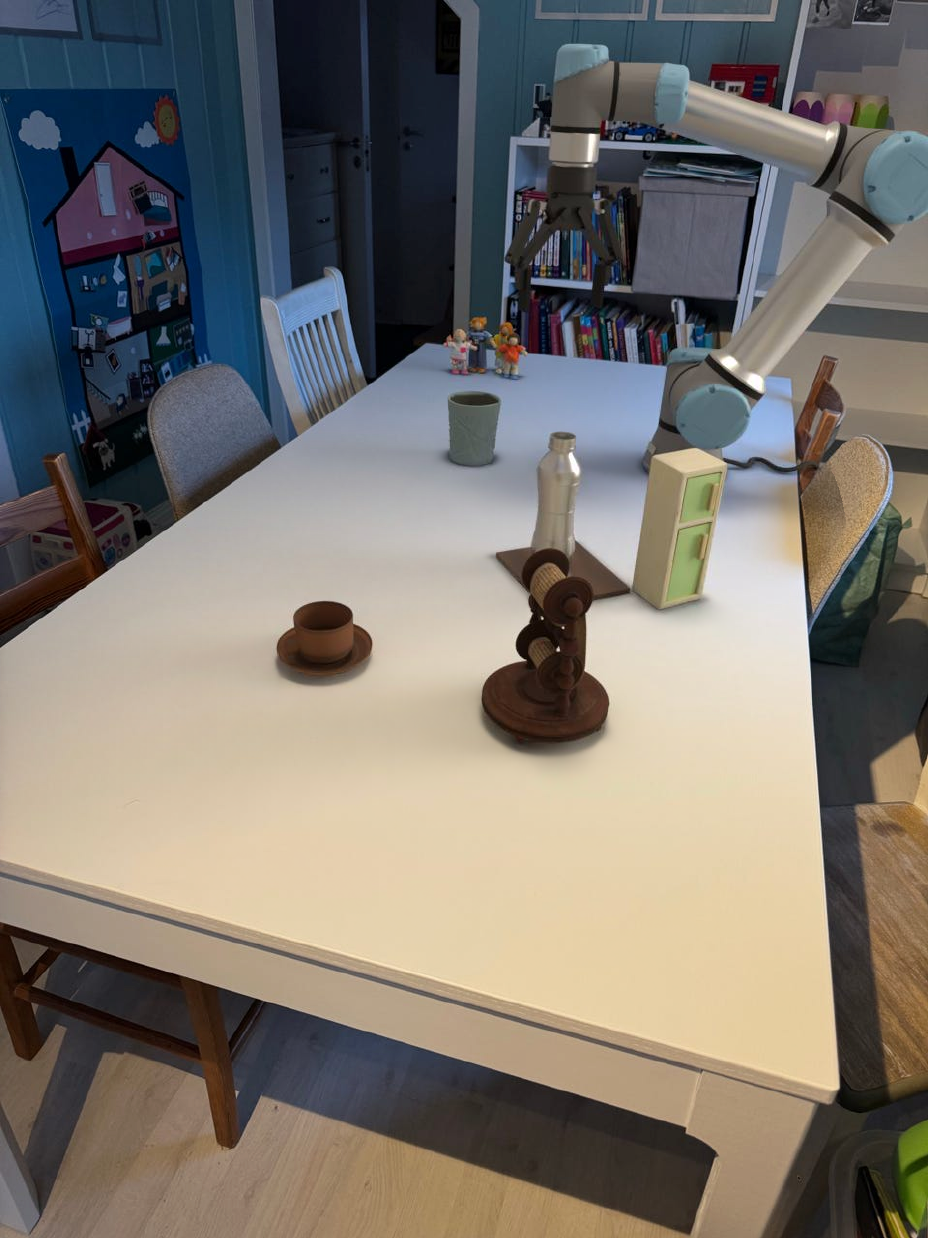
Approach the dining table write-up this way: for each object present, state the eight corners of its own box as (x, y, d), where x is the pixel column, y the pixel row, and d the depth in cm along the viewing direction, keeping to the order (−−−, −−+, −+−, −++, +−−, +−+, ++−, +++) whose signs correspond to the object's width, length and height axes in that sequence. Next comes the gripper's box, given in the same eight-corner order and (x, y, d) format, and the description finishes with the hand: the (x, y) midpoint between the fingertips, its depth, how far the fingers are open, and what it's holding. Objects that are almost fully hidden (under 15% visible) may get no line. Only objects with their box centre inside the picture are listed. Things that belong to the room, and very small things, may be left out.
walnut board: (574, 544, 143) (575, 539, 142) (630, 593, 129) (630, 588, 129) (495, 556, 138) (495, 552, 137) (544, 609, 124) (545, 604, 124)
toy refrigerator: (661, 613, 125) (685, 473, 114) (630, 590, 130) (650, 454, 119) (705, 601, 128) (733, 464, 117) (672, 579, 133) (696, 446, 122)
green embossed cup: (438, 461, 172) (439, 401, 165) (458, 445, 180) (459, 387, 173) (486, 470, 168) (490, 409, 162) (504, 453, 176) (508, 394, 170)
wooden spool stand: (627, 741, 100) (653, 587, 89) (504, 763, 96) (516, 604, 86) (577, 669, 112) (594, 526, 101) (465, 686, 108) (471, 538, 98)
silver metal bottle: (571, 573, 132) (585, 445, 122) (526, 567, 133) (536, 440, 123) (575, 554, 138) (589, 430, 127) (532, 549, 139) (542, 426, 128)
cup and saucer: (332, 695, 105) (329, 652, 102) (257, 663, 111) (252, 621, 107) (391, 650, 114) (391, 609, 111) (319, 622, 119) (317, 582, 116)
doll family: (442, 373, 224) (443, 319, 217) (448, 363, 232) (450, 311, 225) (525, 380, 221) (528, 326, 214) (529, 369, 229) (532, 317, 222)
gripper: (629, 162, 142) (614, 300, 153) (488, 161, 134) (482, 307, 145) (655, 166, 136) (637, 309, 147) (508, 166, 128) (500, 317, 139)
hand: (560, 308), depth 146 cm, fingers open, 13 cm apart
